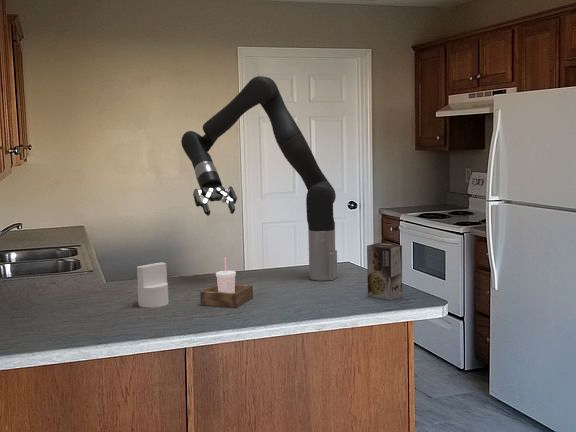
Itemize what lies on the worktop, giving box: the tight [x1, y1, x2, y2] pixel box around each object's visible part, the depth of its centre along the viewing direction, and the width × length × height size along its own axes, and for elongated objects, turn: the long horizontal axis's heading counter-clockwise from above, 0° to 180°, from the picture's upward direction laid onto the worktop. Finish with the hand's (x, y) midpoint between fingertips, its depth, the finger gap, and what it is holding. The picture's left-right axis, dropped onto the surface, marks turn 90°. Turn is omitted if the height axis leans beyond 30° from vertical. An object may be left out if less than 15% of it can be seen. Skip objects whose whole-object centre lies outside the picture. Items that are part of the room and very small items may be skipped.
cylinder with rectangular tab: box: [136, 261, 169, 308], centre depth 200 cm, size 9×9×12 cm
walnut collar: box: [199, 283, 254, 309], centre depth 201 cm, size 12×12×4 cm
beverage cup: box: [215, 256, 237, 293], centre depth 201 cm, size 6×6×14 cm
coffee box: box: [366, 242, 403, 301], centre depth 202 cm, size 9×6×16 cm
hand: (221, 213), depth 219 cm, fingers open, 8 cm apart
